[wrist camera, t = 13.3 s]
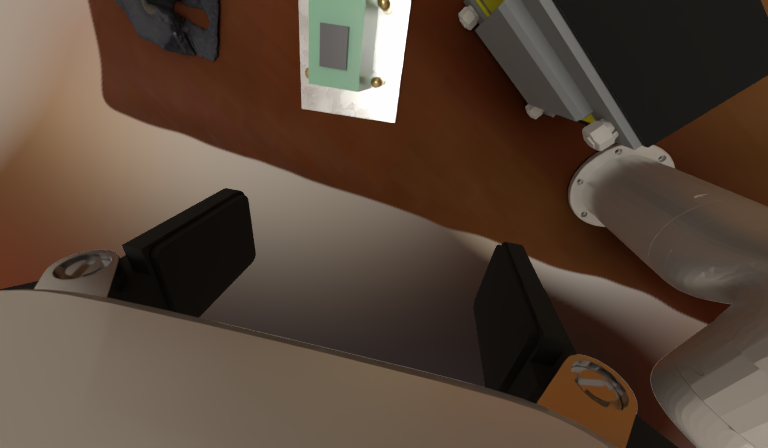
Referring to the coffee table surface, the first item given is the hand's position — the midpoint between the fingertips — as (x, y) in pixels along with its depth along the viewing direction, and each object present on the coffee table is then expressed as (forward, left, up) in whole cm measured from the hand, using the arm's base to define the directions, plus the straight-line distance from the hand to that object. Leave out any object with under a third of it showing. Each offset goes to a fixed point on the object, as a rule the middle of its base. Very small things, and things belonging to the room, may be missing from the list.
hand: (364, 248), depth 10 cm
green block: (+10, -8, -33) cm, 35 cm away
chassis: (+10, -8, -34) cm, 36 cm away
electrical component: (-12, -11, -34) cm, 38 cm away
